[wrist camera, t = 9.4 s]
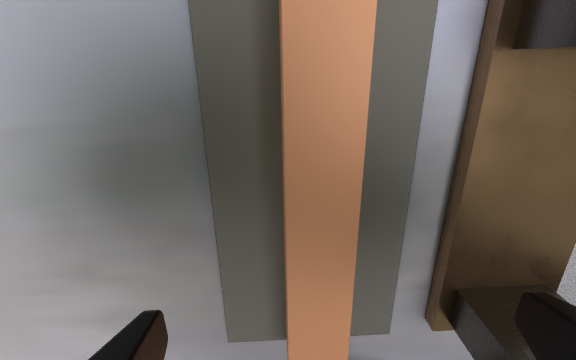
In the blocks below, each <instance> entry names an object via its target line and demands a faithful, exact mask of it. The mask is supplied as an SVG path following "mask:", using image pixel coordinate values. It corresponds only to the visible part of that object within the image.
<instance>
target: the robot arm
mask: <svg viewBox="0 0 576 360" xmlns="http://www.w3.org/2000/svg"><path fill="white" fill-rule="evenodd" d="M514 321H515V324H516V326H517V328H518V330H519V331H520V333H521V335H522V336H523V338H524V340H525V341H526V343H527V345H528V346H529V348H530V350H531V351H532V353H533V355H534V356H535V358H536V360H576V306H573V305H571V304H569V303H567V302H565V301H563V300H561V299H558V298H556V297H554V296H552V295H550V294H548V293H546V292H543V291H526V292H524V293H522V295H521V297H520V300H519V303H518V305H517V308H516V311H515V314H514ZM167 343H168V334H167V329H166V325H165V320H164V315H163V313H162V311H160V310H149V311H144V312H142V313H140V314H139V315H138V316H137V317H136V318H135V319H134V320H133V321H131V322H130V323H129V324H128V325H127V326H126V327H125V328H123V329H122V330H121V331H120V332H119V333H118V334H117V335H116V336H114V337H113V338H112V339H111V340H110V341H109V342H108V343H106V344H105V345H104V346H103V347H102V348H101V349H100V350H99V351H97V352H96V353H95V354H94V355H93V356H92V357H91V358H89V359H88V360H164V357H165V353H166V349H167Z"/></svg>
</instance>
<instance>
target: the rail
mask: <svg viewBox="0 0 576 360" xmlns="http://www.w3.org/2000/svg"><path fill="white" fill-rule="evenodd" d="M376 9H377V0H279V24H280V68H281V113H282V157H283V201H284V246H285V290H286V335H287V356H288V360H348V352H349V340H350V328H351V316H352V303H353V291H354V279H355V266H356V254H357V242H358V230H359V217H360V205H361V193H362V181H363V168H364V156H365V144H366V132H367V119H368V107H369V95H370V82H371V70H372V58H373V46H374V33H375V21H376Z"/></svg>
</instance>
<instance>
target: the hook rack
mask: <svg viewBox="0 0 576 360" xmlns="http://www.w3.org/2000/svg"><path fill="white" fill-rule="evenodd" d="M575 243H576V0H489V3H488V8H487V13H486V17H485V22H484V27H483V32H482V37H481V42H480V47H479V52H478V57H477V62H476V67H475V72H474V77H473V82H472V87H471V92H470V97H469V102H468V107H467V112H466V117H465V122H464V127H463V132H462V137H461V142H460V147H459V152H458V157H457V162H456V167H455V172H454V177H453V182H452V187H451V192H450V197H449V202H448V207H447V212H446V216H445V221H444V226H443V231H442V236H441V241H440V246H439V251H438V256H437V261H436V266H435V271H434V276H433V281H432V286H431V291H430V296H429V301H428V306H427V311H426V316H425V319H426V321H427V322H428V324H429V326H430V327H431V329H432V331H444V330H455V332H456V333H457V335H458V336H459V338H460V339H461V341H462V342H463V344H464V345H465V346H466V348H467V349H468V351H469V352H470V354H471V355H472V357H473V358H474V360H536V358H535V356H534V355H533V353H532V351H531V350H530V348H529V346H528V345H527V343H526V341H525V340H524V338H523V336H522V335H521V333H520V331H519V330H518V328H517V326H516V324H515V321H514V314H515V311H516V308H517V305H518V303H519V300H520V297H521V295H522V293H524V292H526V291H543V292H546V293H548V294H550V295H552V296H554V297H556V298H558V299H561V300H563V301H565V302H567V301H566V300H565V299H563V298H562V297H561V296H560V295H559V294H557V293H556V291H557V289H558V286H559V284H560V281H561V279H562V276H563V274H564V271H565V268H566V266H567V263H568V261H569V258H570V256H571V253H572V251H573V248H574V246H575ZM567 303H568V302H567ZM569 304H570V303H569Z"/></svg>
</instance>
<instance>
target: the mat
mask: <svg viewBox="0 0 576 360" xmlns="http://www.w3.org/2000/svg"><path fill="white" fill-rule="evenodd" d="M188 4H189V12H190V21H191V29H192V38H193V46H194V55H195V63H196V72H197V80H198V89H199V97H200V106H201V114H202V123H203V131H204V140H205V148H206V157H207V165H208V174H209V182H210V191H211V199H212V208H213V216H214V225H215V233H216V242H217V250H218V259H219V267H220V276H221V284H222V293H223V301H224V310H225V318H226V327H227V335H228V342H246V341H264V340H283V339H287V335H286V290H285V246H284V201H283V157H282V113H281V68H280V24H279V0H188ZM437 6H438V0H377V9H376V21H375V33H374V46H373V58H372V70H371V82H370V95H369V107H368V119H367V132H366V144H365V156H364V168H363V181H362V193H361V205H360V217H359V230H358V242H357V254H356V266H355V279H354V291H353V303H352V316H351V328H350V336H358V335H377V334H389V332H390V325H391V318H392V312H393V305H394V298H395V291H396V284H397V278H398V271H399V264H400V257H401V251H402V244H403V237H404V230H405V223H406V217H407V210H408V203H409V196H410V190H411V183H412V176H413V169H414V162H415V156H416V149H417V142H418V135H419V129H420V122H421V115H422V108H423V101H424V95H425V88H426V81H427V74H428V68H429V61H430V54H431V47H432V40H433V34H434V27H435V20H436V13H437Z"/></svg>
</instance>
